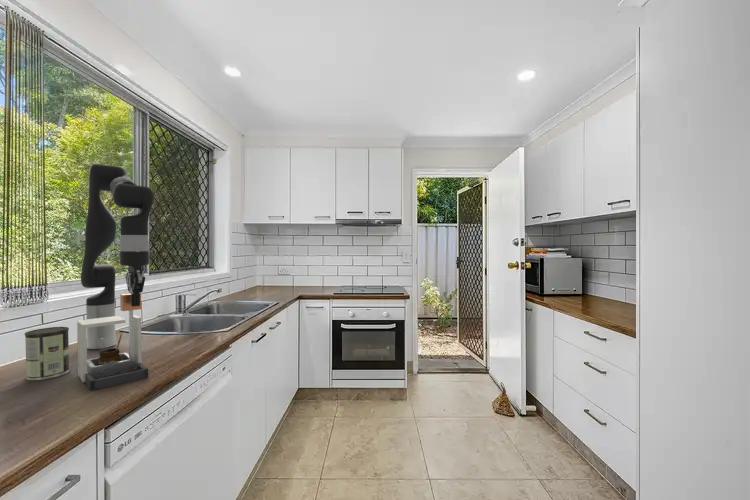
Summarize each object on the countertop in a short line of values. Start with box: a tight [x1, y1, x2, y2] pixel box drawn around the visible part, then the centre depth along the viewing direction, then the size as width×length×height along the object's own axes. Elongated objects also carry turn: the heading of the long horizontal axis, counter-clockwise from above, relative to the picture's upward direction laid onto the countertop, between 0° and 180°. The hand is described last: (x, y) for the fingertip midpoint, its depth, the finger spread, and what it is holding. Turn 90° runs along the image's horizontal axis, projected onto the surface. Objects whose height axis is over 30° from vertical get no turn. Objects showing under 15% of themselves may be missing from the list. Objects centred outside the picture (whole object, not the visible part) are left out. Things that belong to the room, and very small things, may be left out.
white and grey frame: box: [76, 313, 143, 383], centre depth 115 cm, size 10×15×17 cm, turn 136°
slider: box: [87, 293, 142, 379], centre depth 116 cm, size 12×13×24 cm
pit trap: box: [84, 363, 149, 391], centre depth 109 cm, size 9×14×2 cm, turn 136°
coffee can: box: [24, 326, 70, 381], centre depth 114 cm, size 10×10×14 cm
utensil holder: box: [98, 333, 123, 366], centre depth 115 cm, size 6×6×12 cm
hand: (135, 305), depth 111 cm, fingers closed
